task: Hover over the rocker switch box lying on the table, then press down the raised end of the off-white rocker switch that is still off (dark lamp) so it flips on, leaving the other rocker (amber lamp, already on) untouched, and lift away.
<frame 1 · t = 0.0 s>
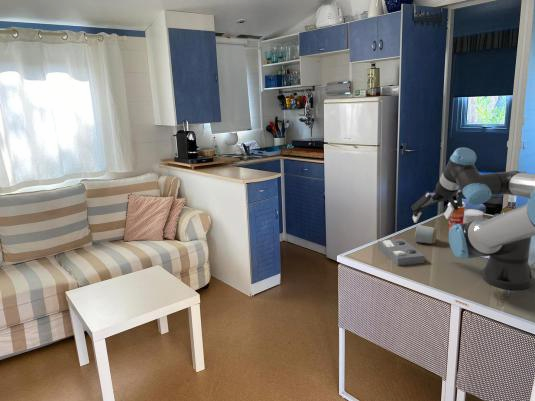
hand: (430, 218, 167), 15 cm above the table, tool tilted 35°, fingers open, 13 cm apart
rocker a: (398, 253, 166), point 3 cm above the table, hinge at 12.0°
ceramic mug: (425, 241, 184), on the table
rocker b: (388, 244, 176), point 3 cm above the table, hinge at -12.0°
rocker switch box: (399, 254, 172), on the table
ramekin: (470, 222, 205), on the table
paper cup: (455, 231, 194), on the table
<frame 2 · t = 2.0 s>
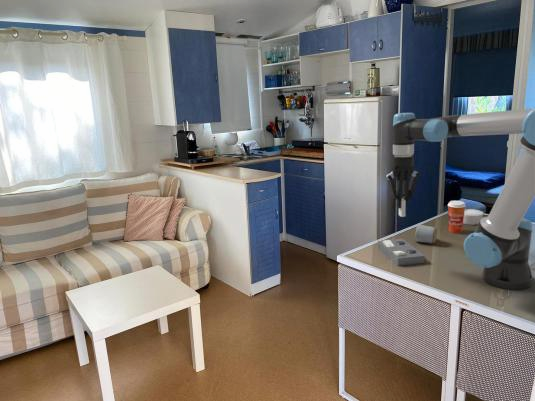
hand: (401, 215, 160), 19 cm above the table, tool pointing down, fingers closed
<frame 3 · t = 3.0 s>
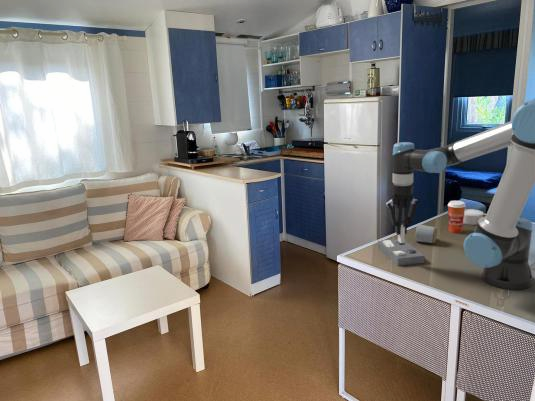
hand: (401, 241, 163), 9 cm above the table, tool pointing down, fingers closed
nothing on the table moved.
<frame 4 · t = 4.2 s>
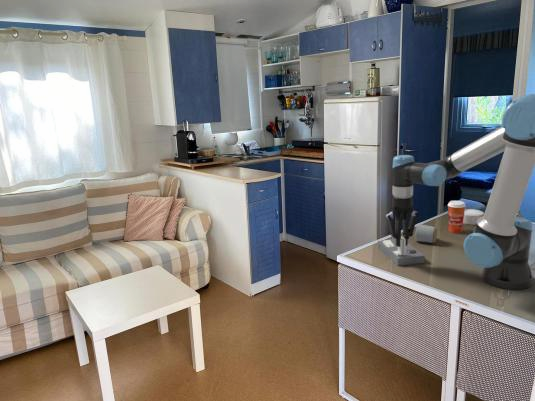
hand: (401, 253, 163), 4 cm above the table, tool pointing down, fingers closed, pressing on rocker a
rocker a: (398, 253, 166), point 3 cm above the table, hinge at 10.7°, touching gripper
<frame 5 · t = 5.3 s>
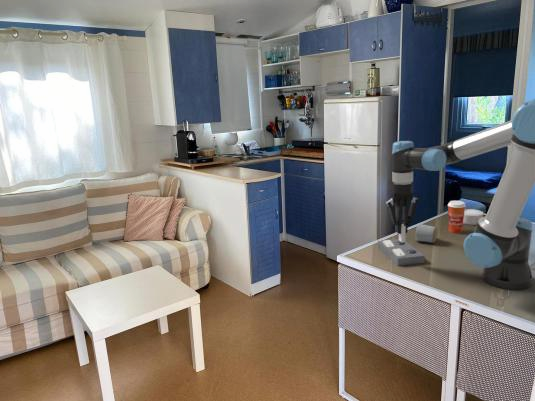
hand: (402, 240, 162), 9 cm above the table, tool pointing down, fingers closed
rocker a: (398, 253, 166), point 3 cm above the table, hinge at -11.7°
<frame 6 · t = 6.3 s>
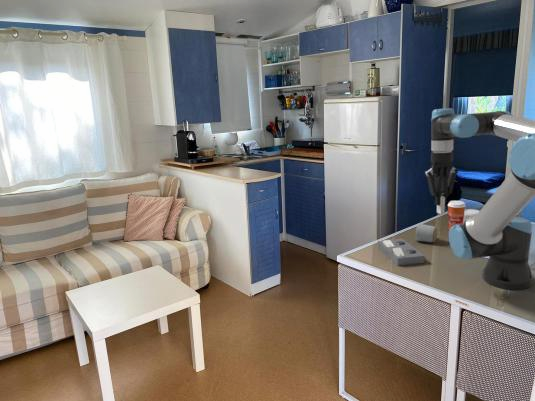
hand: (440, 213, 158), 20 cm above the table, tool pointing down, fingers closed
rocker a: (398, 253, 166), point 3 cm above the table, hinge at -25.6°, touching rocker switch box
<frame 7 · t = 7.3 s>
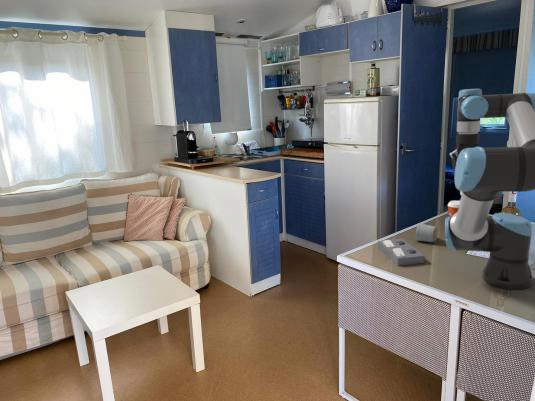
hand: (464, 195, 157), 26 cm above the table, tool pointing down, fingers closed
rocker a: (398, 253, 166), point 3 cm above the table, hinge at -19.4°
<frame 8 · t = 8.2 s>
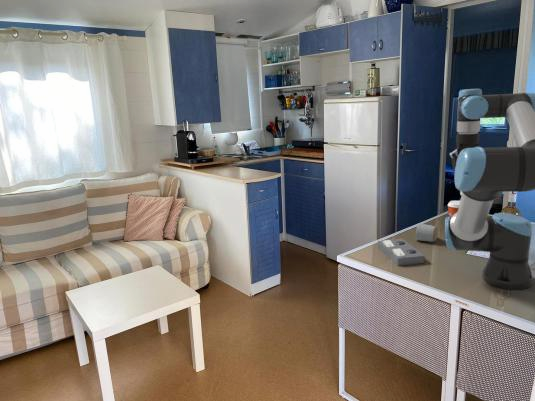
hand: (464, 195, 157), 26 cm above the table, tool pointing down, fingers closed
rocker a: (398, 253, 166), point 3 cm above the table, hinge at -12.1°
at the end: rocker a at -11° (first picture: +12°); rocker b at -12° (first picture: -12°) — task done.
